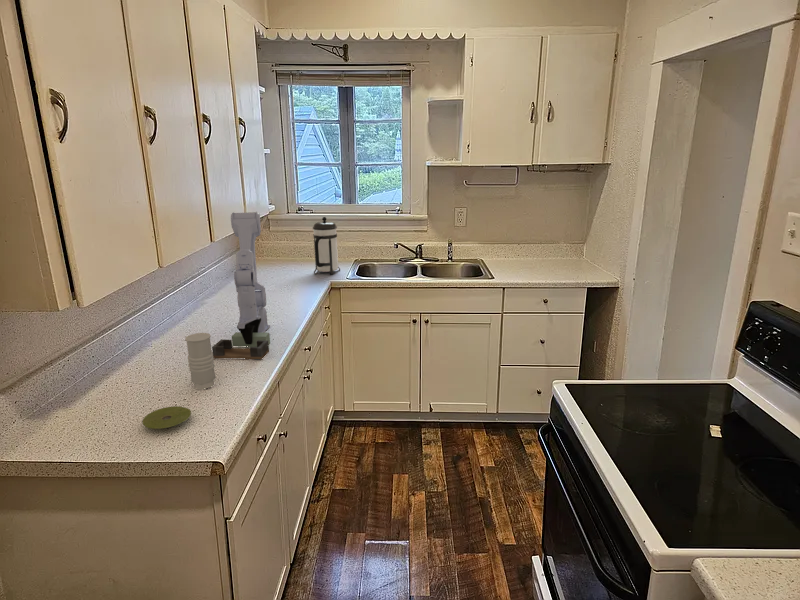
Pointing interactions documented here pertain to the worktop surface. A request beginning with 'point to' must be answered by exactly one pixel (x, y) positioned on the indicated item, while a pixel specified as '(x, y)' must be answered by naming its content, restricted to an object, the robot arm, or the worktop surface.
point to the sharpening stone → (239, 341)
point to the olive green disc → (166, 417)
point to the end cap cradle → (240, 350)
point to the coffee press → (325, 246)
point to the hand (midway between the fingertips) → (251, 341)
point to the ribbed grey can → (200, 360)
